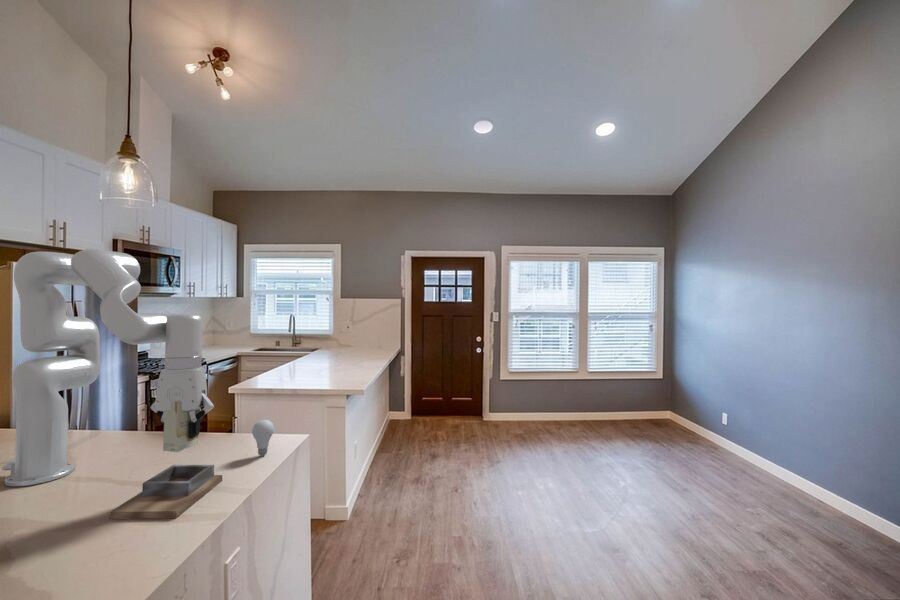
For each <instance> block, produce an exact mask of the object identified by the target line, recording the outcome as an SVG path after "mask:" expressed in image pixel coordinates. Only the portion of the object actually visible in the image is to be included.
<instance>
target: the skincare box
mask: <svg viewBox="0 0 900 600" xmlns="http://www.w3.org/2000/svg"><path fill="white" fill-rule="evenodd" d="M189 422H191V418H190V414H189V411H181V401H172V403H171V407H170V410H169V411H165V418H164V422H163V440H162V446H163V447H162V451H163V452H171V453H172V452H173V453H179V452H182V451H184V450H186V449H190V448H192V447H193V446H194V447H195V446H197V445H199V435H197V436H196V437H194V438H192V439H190V438H189V437H188V435H189Z"/></svg>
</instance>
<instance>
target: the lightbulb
mask: <svg viewBox="0 0 900 600" xmlns="http://www.w3.org/2000/svg"><path fill="white" fill-rule="evenodd" d="M274 426H275V425H274V423H273V422H272V421H271V420H269V419H260V420H259V421H257V422H256V423H255V424H254V425H253V427H252V428H251V431H252V432H251V433H252V436H253V438H254V439H255V440H254V441H256V448H257V455H259V456H261V457H264V456H265V455H267V453H268V448H269V445H270V440H271V438H272V436H273V434H274V432H275V427H274Z"/></svg>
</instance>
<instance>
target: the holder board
mask: <svg viewBox="0 0 900 600" xmlns="http://www.w3.org/2000/svg"><path fill="white" fill-rule="evenodd" d="M222 482H223V474H215V464H172V465H171V466H169V467H167V468H165V469H164V470H162V471H160V472H159V473H157V474H155V475H154V476H153V477H150V478H149V479H147V480H145V481H144V482H143V483H142V490H141V492H139V493H137V494H136V495H134V496H133V497H131V498H130V499H128V500H127V501H124V502H123V503H121V504H120V505H119V506H116V508H114V509H112V510H110V511H109V519H114V520H117V519H119V520H121V519H122V520H123V519H130V520H131V519H136V520H137V519H177V518H179V517H180V516H181V515H182V514H184V513H185V512H186V511H187V510H188V509H190V508H191V507H192V506H193V505H195V504H196V503H197V502H198V501H199V500H201V499H202V498H203V497H204V496H205V495H207V494H208V493H209V492H211V491H212V490H213V489H214V488H216V486H218V485H219V484H220V483H222Z"/></svg>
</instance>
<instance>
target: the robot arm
mask: <svg viewBox="0 0 900 600" xmlns="http://www.w3.org/2000/svg"><path fill="white" fill-rule="evenodd" d="M140 274H141V265H140V263H139V262H138V260H137V259H136V258H135V257H134V256H132V255H131V254H129V253H125V252H119V251H113V250H106V249H98V248H87V249H86V248H85V249H83V250H82V249H81V250H80V251H78V252H76V253H74V254H73V253H65V252H57V251H32V252H29V253H26V254H24V255H22V256H21V257H20V258H19V259H18V260H17V261H16V264H15V265H14V269H13V281H14V286H15V288H16V292H17V294H18V299H19V304H20V306H19V309H20V310H19V317H20V318H19V320H20V323H19V324H20V326H19V329H20V330H19V331H20V343H21V346H22V348H23V349H24V350H25V351H27V352H30V353H52V352H53V353H54V352H64V351H67V353H68V354H67V355H54V356H46V357H38V358H33V359H29V360H26V361H23V362H21V363H20V364H18V365H17V366H16V367H15V368H14V369H13V371H12V374H11V382H12V386H13V387H12V388H13V391H14V396H15V403H16V404H15V405H16V408H15V409H16V411H15V413H16V416H15V418H16V419H15V420H16V421H15V422H16V424H15V451H14V459H9V460H8V461H7V463H6V464H4V465H2V466H1V471H10V474H9V475H7V477H6V478H5V479H4V484H5V485H6V486H8V487H26V486H33V485H38V484H39V485H40V484H44V483H47V482H50V481H54V480H57V479H60V478H62V477H65V476H67V475H69V474H71V473H72V472H73V471H74V470H75V464H74V463H72V462H67V455H68V454H67V453H68V433H69V432H68V428H69V426H68V424H69V406H68V403H67V401H66V400H65V399H64V397H63V396H61V394H60V393H59V392H60V391H64V390H71V389H76V388H81V387H86V386H89V385H91V384H93V383H94V382H95V381H96V380H97V379H98V377H99V374H100V370H101V345H100V344H101V341H100V339H101V338H100V337H101V335H100V331H99V328H98V326H97V324H96V322H94V320H92V319H91V318H88V317H86V316H85V317H84V316H67V301H66V299H65V297H64V295H63V294H62V292H60V290H59V289H58V288H57V287H56V286H54V285H67V286H81V287H83V286H85V287H89V288H90V290H92V291H93V292H94V294H96V296H98V297H99V298H100V299H101V303H100V306H99V313H100V317H101V321H102V323H103V324H104V326H105V327H106V328H107V329H108V330H109V331H110V332H111V333H112V334H113V335H114V336H115V337H116V338H117V339H118V340H120V341H121V342H123V343H126V344H129V345H144V344H145V345H148V344H155V343H156V344H158V343H161V344H162V343H165V347H164V358H161V360H160V365H164V369H161V370H160V374H159V377H158V381H157V386H156V394H155V401H154V402H153V403H152V404H151V406H150V407H149V408H150V409H151V411H153V412H154V413H155V414H156V415H157V417H159V418H160V421H161V422H162V423H164V418H165V411H169V410H170V407H171V403H172V401H181V411H189V414H190V418H191V422H189V435H188V437H189V438H190V439H192V438H194V437H196V436H197V435H198V436H199V435H200V432H201V420H202V419H203V417H205V415H207V414H208V413H209V412H210V411H211V410H213V409H215V405H214V403H213V402H212V401H211V400H210V398H209V397H208V386H207V377H206V372H205V368H204V367H202V358H203V357H202V352H203V351H202V350H203V319H202V316H201V315H199V314H193V313H189V314H188V313H181V314H178V313H174V312H173V313H171V312H138V313H137V312H135V311H134V310H133V309H132V308H131V307H129V305H128V304H130V303H131V302H133V300H135V299H136V298H137V297H138V296H139V295H140V292H141V289H142V286H141V284H140V282H139V281H138V280H137V279H138V277H139V276H140ZM202 407H203V408H202Z"/></svg>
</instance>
